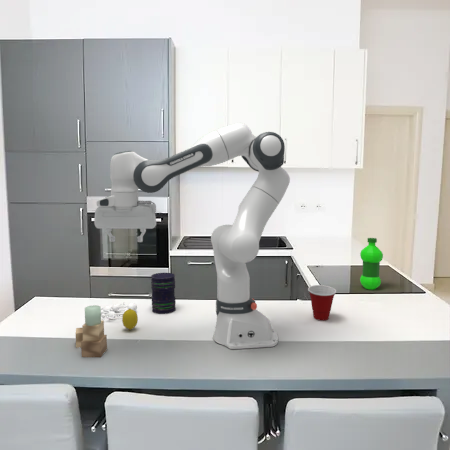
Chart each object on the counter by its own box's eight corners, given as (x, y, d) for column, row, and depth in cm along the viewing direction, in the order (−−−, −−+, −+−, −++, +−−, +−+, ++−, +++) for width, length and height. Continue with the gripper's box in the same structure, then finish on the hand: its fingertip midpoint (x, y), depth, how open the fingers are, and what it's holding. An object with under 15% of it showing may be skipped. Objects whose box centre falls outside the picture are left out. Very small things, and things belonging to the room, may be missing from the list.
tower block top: (104, 335, 133) (103, 320, 132) (98, 341, 128) (98, 326, 127) (89, 334, 133) (88, 320, 132) (82, 341, 128) (82, 325, 127)
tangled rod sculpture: (79, 324, 159) (78, 314, 158) (94, 309, 173) (93, 300, 172) (128, 324, 157) (127, 314, 156) (139, 309, 171) (138, 300, 171)
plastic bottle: (355, 288, 203) (357, 238, 200) (365, 284, 211) (367, 236, 207) (374, 292, 196) (376, 240, 193) (384, 288, 203) (387, 238, 200)
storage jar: (173, 305, 178) (172, 271, 176) (177, 312, 168) (177, 277, 167) (150, 307, 175) (149, 273, 173) (153, 315, 165) (152, 279, 163)
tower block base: (107, 349, 134) (106, 334, 133) (100, 357, 128) (99, 342, 127) (89, 349, 134) (88, 334, 133) (81, 357, 128) (81, 341, 127)
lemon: (131, 325, 154) (131, 305, 153) (141, 329, 150) (140, 308, 149) (119, 330, 150) (118, 309, 149) (128, 333, 146) (128, 312, 145)
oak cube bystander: (92, 340, 141) (91, 326, 140) (92, 346, 136) (91, 331, 136) (76, 342, 139) (76, 328, 139) (76, 348, 135) (75, 333, 134)
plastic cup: (310, 323, 156) (311, 292, 154) (304, 313, 167) (305, 285, 165) (339, 323, 156) (340, 292, 155) (330, 313, 167) (331, 284, 165)
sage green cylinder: (103, 320, 132) (102, 305, 131) (97, 326, 127) (97, 310, 126) (88, 320, 132) (88, 305, 131) (82, 325, 127) (82, 310, 127)
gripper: (157, 200, 139) (158, 240, 140) (98, 200, 140) (100, 240, 141) (153, 201, 132) (154, 243, 134) (91, 201, 133) (93, 243, 135)
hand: (126, 241), depth 138 cm, fingers open, 8 cm apart
